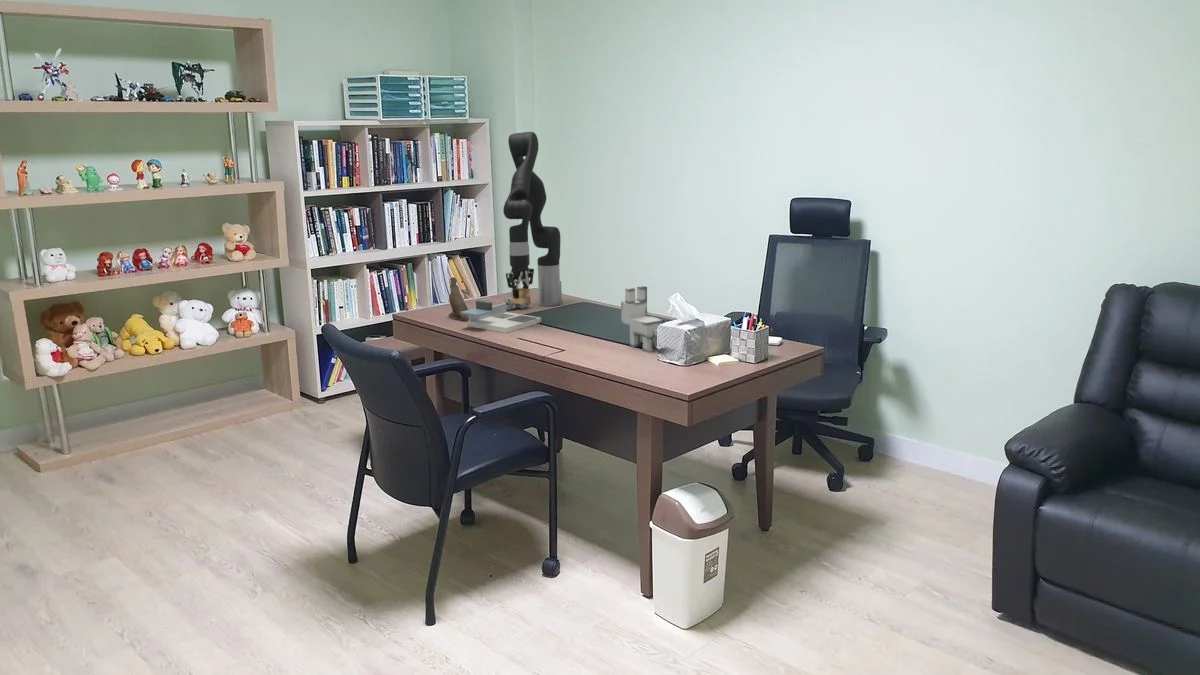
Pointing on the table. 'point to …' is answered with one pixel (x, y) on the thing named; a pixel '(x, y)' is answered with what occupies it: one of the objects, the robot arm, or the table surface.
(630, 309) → the toy llama
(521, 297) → the wooden block
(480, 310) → the sliding lid
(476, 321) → the puzzle board
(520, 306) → the round bodied animal figurine
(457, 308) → the worn brown figurine
